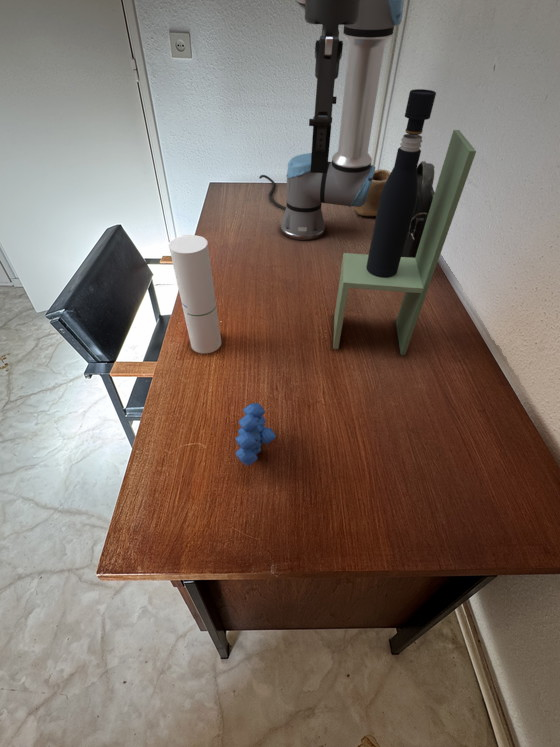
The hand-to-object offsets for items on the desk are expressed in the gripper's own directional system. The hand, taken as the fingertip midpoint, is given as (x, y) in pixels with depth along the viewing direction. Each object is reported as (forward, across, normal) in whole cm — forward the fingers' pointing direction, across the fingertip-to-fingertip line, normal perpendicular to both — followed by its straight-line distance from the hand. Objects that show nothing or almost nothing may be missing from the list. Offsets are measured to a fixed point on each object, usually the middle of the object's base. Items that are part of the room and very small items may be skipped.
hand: (320, 159), depth 65 cm
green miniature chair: (+38, +2, +15) cm, 41 cm away
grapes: (+38, +37, -7) cm, 54 cm away
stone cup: (+38, -69, +21) cm, 82 cm away
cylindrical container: (+38, +9, -23) cm, 46 cm away
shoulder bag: (+38, -35, +26) cm, 58 cm away
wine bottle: (+20, +2, +15) cm, 25 cm away
